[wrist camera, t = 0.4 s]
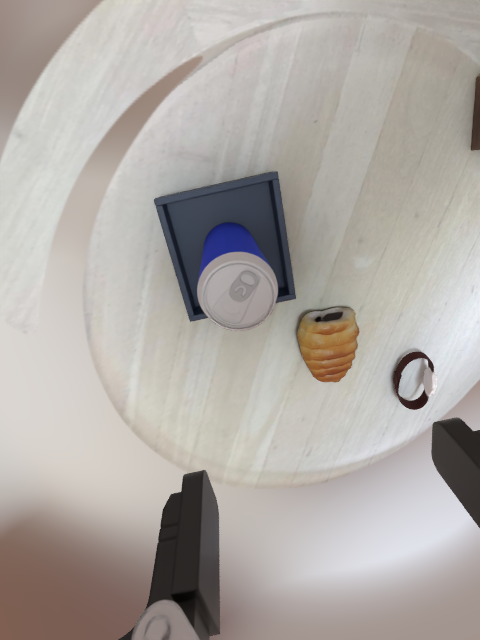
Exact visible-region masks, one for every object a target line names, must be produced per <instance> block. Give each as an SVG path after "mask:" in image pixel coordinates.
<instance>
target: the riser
mask: <svg viewBox="0 0 480 640" xmlns="http://www.w3.org/2000/svg"><path fill="white" fill-rule="evenodd" d="M471 150H480V76H479V77H477V81H476V94H475V107H474V120H473V134H472V147H471Z"/></svg>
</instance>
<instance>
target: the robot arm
mask: <svg viewBox="0 0 480 640" xmlns="http://www.w3.org/2000/svg"><path fill="white" fill-rule="evenodd" d="M432 459H433V462H434V465H435V466H436V469H437V471H438V472H439V474H440V475H441V476H442V478H443V479H444V480H445V482H446V483H447V485H448V486H449V487H450V489H451V490H452V491H453V493H454V494H455V495H456V497H457V498H458V499H459V501H460V502H461V503H462V505H463V506H464V508H465V509H466V510H467V512H468V513H469V514H470V516H471V517H472V518H473V520H474V521H475V522H476V523H477V525H478V527H479V528H480V430H478V431H472V430H471V429H470V428H469V427H468V426H467V425H466V424H465V422H463V421H462V420H461V419H460V418H452V419H447V420H442V421H438V422H434V423H433V430H432ZM158 540H159V543H158V545H157V551H156V558H155V565H154V571H153V577H152V583H151V590H150V596H149V600H148V604H147V607H146V609H145V611H144V612H143V614H142V615H141V616H140V618H139V619H138V621H137V623H136V625H135V626H134V628H133V629H132V630H131V631H130V632H128V633H127V634H126V635H125V636H123V637H122V638H120V639H119V640H209V636H212V635H217V634H220V601H219V600H220V595H219V591H220V589H219V512H218V505H217V500H216V497H215V494H214V492H213V488H212V486H211V483H210V480H209V477H208V475H207V472H206V471H205V470H202V471H198V472H193V473H188V474H185V475H184V476H183V482H182V491H181V492H179V493H174V494H171V495H170V497H169V499H168V501H167V503H166V505H165V507H164V509H163V513H162V520H161V529H160V533H159V539H158Z"/></svg>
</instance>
